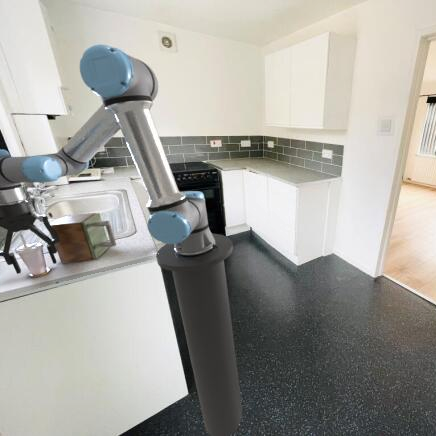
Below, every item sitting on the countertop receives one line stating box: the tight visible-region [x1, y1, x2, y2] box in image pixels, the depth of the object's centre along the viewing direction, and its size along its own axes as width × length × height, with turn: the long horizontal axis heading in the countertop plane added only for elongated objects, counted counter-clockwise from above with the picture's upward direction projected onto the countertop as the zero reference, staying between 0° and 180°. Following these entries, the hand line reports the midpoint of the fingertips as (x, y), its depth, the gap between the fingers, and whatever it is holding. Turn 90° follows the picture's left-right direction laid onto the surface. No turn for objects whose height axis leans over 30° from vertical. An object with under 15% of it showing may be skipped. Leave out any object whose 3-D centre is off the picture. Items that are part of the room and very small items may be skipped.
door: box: [82, 212, 118, 260], centre depth 95 cm, size 8×11×15 cm
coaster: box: [29, 267, 51, 278], centre depth 83 cm, size 5×5×1 cm
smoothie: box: [14, 234, 48, 275], centre depth 81 cm, size 6×6×14 cm
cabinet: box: [49, 212, 97, 264], centre depth 93 cm, size 10×11×15 cm
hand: (37, 266), depth 82 cm, fingers open, 8 cm apart
